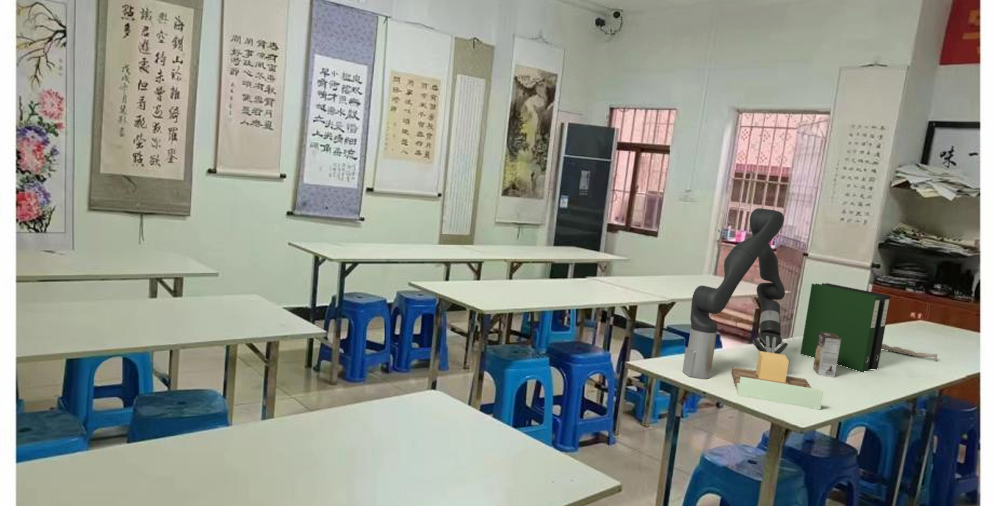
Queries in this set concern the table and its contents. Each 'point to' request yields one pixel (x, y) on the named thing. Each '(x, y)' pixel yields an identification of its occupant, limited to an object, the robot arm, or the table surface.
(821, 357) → the coffee box
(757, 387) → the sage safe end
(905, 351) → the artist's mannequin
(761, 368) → the ochre block
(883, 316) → the binder
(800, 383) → the board
